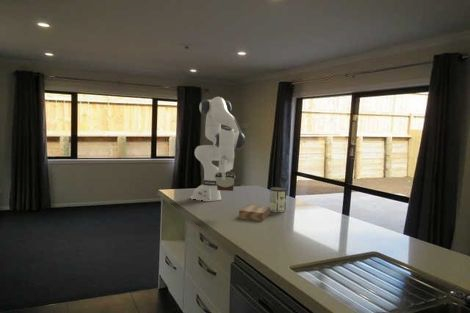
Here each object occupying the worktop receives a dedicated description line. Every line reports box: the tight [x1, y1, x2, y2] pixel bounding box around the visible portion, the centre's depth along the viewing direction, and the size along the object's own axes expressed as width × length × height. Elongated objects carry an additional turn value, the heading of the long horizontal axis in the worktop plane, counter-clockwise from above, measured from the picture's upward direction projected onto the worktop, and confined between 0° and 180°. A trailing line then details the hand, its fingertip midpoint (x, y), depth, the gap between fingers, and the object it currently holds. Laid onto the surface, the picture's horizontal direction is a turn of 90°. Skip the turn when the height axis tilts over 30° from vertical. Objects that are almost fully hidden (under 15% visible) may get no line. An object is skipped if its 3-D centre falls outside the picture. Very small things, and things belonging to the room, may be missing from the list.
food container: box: [214, 171, 236, 192], centre depth 202 cm, size 12×6×10 cm, turn 81°
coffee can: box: [269, 186, 287, 213], centre depth 220 cm, size 10×10×14 cm
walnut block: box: [238, 204, 271, 222], centre depth 203 cm, size 14×16×5 cm
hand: (225, 178), depth 200 cm, fingers closed on food container, 5 cm apart
